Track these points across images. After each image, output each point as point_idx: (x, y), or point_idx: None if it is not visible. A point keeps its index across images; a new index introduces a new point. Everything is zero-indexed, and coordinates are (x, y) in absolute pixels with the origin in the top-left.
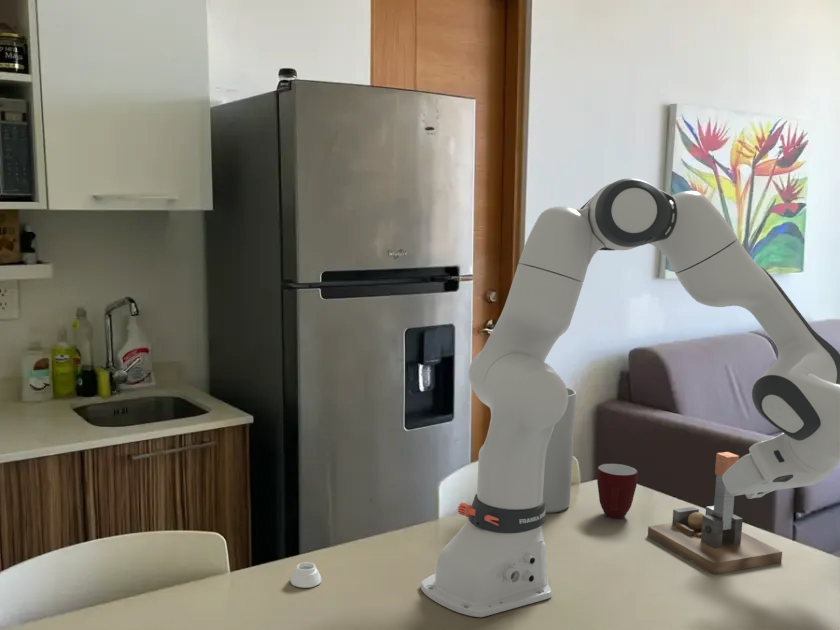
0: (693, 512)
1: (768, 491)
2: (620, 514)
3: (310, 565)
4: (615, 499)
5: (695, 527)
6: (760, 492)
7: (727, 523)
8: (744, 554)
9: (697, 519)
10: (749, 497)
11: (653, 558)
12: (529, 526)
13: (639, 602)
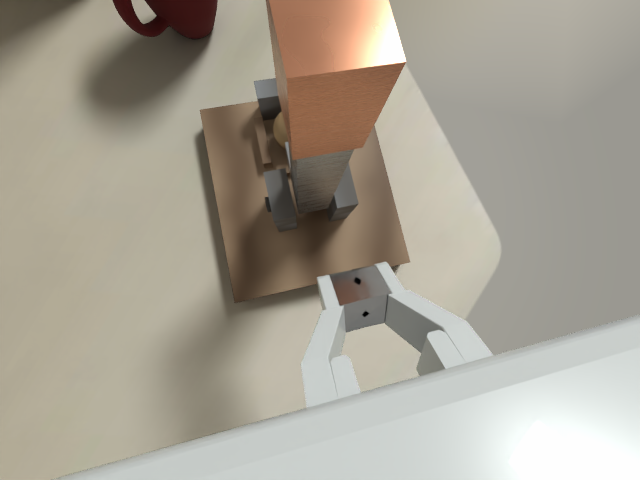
0: None
1: (405, 338)
2: (188, 33)
3: None
4: (123, 14)
5: (282, 147)
6: (372, 321)
7: (315, 207)
8: (325, 266)
9: (284, 138)
10: (322, 309)
11: (161, 220)
12: None
13: (17, 407)
